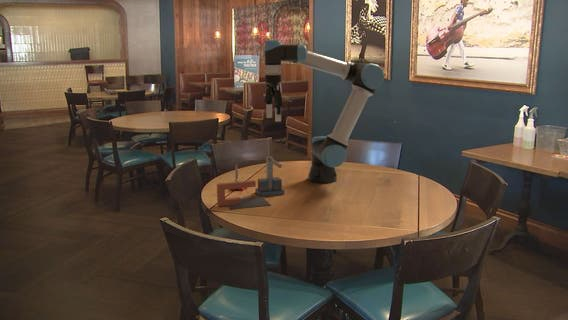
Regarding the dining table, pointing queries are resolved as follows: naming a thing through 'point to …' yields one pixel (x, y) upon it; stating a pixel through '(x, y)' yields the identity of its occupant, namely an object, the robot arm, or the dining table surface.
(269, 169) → the toilet paper holder
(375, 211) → the dining table surface
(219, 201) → the reddish-brown c-shaped bracket
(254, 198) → the mat
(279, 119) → the robot arm
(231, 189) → the tow hook
